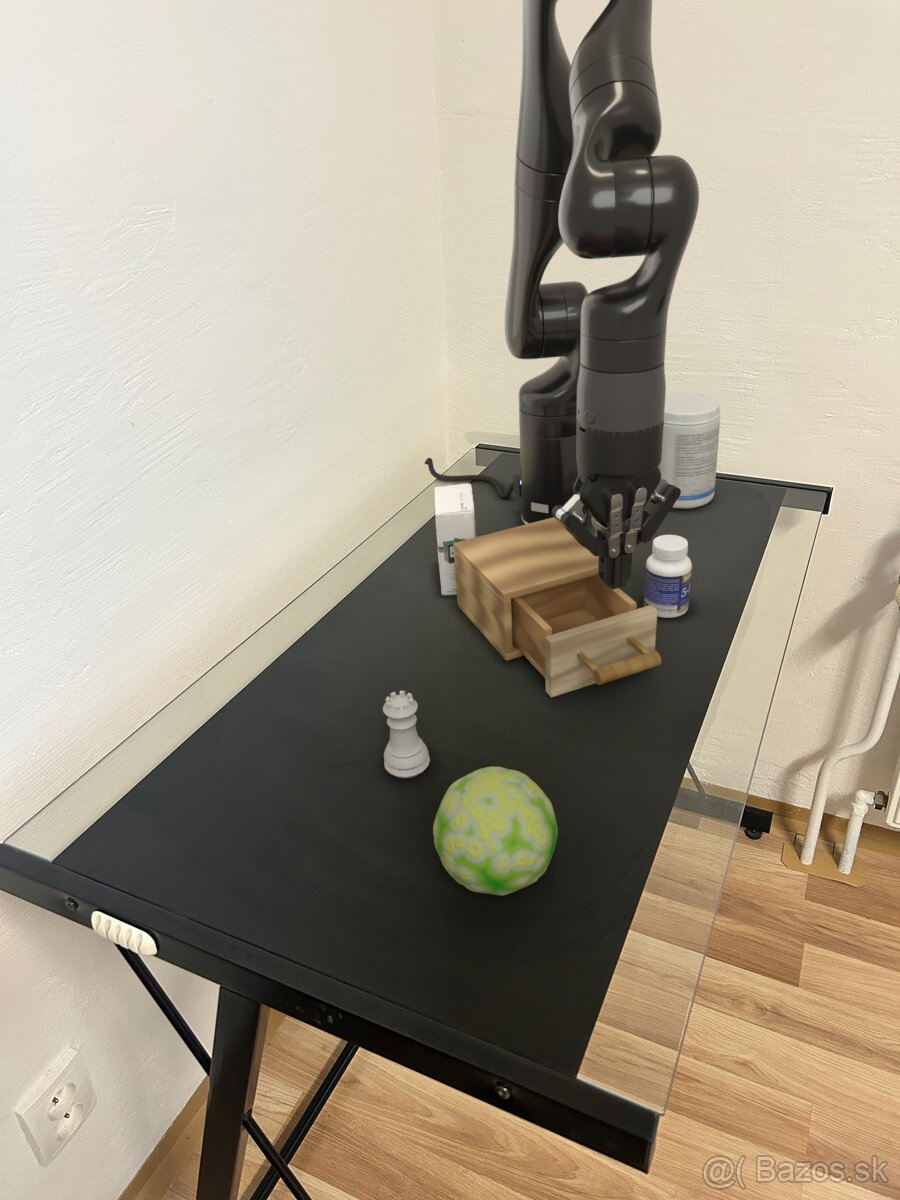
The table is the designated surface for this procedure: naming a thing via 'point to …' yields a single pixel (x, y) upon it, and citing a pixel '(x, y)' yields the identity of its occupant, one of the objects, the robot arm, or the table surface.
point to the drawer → (584, 634)
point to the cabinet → (515, 573)
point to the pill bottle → (668, 576)
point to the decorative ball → (495, 831)
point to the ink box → (452, 528)
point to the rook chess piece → (404, 738)
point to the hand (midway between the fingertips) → (614, 584)
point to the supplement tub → (690, 447)
